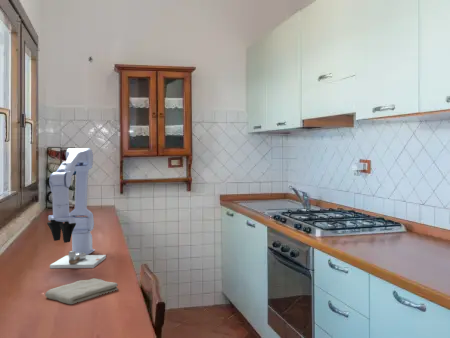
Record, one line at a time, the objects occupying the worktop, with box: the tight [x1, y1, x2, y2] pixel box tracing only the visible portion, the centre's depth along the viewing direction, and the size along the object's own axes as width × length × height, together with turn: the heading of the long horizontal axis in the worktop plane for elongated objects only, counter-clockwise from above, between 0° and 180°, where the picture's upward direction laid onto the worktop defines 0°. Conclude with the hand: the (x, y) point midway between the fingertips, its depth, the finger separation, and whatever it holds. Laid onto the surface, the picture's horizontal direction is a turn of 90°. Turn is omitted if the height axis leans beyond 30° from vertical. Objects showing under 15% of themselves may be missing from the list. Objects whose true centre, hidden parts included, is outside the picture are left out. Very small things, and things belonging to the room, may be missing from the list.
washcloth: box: [45, 278, 119, 305], centre depth 136 cm, size 12×18×3 cm, turn 145°
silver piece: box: [68, 250, 86, 264], centre depth 173 cm, size 11×5×4 cm, turn 178°
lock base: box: [49, 254, 107, 269], centre depth 175 cm, size 16×16×1 cm
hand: (61, 241), depth 170 cm, fingers open, 6 cm apart
